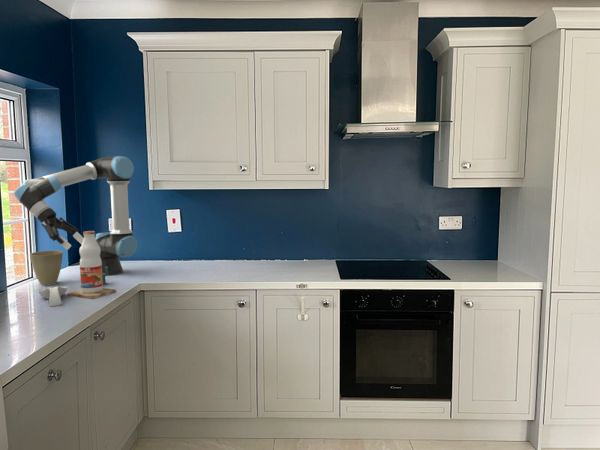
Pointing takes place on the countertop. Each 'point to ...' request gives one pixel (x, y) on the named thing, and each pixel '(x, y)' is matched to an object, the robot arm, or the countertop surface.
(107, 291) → the brown square board
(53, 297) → the spoon rest
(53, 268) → the plant pot
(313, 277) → the countertop surface
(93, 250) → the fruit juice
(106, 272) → the bracket
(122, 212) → the robot arm
